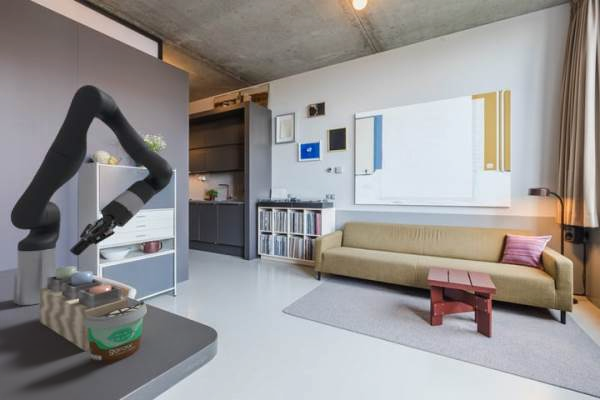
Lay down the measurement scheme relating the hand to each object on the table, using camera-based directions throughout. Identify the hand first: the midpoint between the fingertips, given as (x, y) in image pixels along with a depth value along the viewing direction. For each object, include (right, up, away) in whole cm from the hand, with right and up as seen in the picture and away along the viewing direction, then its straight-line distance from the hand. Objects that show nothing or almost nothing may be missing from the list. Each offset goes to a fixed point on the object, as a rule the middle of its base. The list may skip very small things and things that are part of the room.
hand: (73, 253), depth 74 cm
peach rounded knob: (+12, -10, -7) cm, 17 cm away
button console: (+3, -20, -2) cm, 20 cm away
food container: (+22, -20, -14) cm, 33 cm away
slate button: (+4, -8, -2) cm, 9 cm away
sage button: (-5, -8, +3) cm, 10 cm away
